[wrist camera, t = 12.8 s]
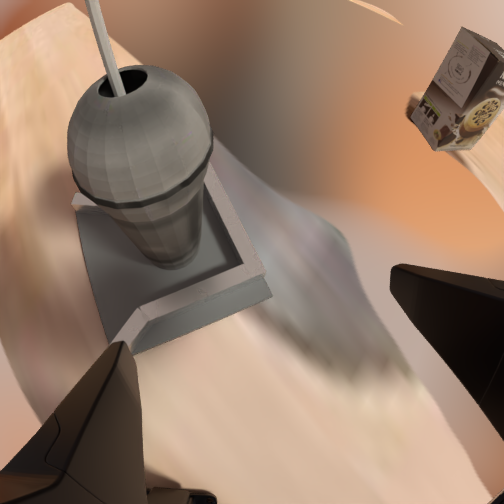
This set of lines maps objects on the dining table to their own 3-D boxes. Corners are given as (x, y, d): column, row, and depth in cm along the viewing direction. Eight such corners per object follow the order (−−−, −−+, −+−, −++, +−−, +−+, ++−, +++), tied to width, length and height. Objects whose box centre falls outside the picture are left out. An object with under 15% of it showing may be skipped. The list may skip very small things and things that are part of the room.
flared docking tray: (120, 364, 20) (111, 362, 19) (77, 206, 25) (69, 195, 24) (273, 300, 23) (277, 293, 22) (201, 157, 28) (200, 144, 26)
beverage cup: (171, 307, 22) (27, 58, 4) (112, 246, 24) (-15, 28, 5) (237, 241, 25) (264, -32, 6) (175, 190, 26) (137, -45, 8)
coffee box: (434, 153, 32) (499, 59, 17) (408, 117, 34) (459, 23, 20) (472, 151, 34) (531, 75, 19) (448, 118, 36) (497, 41, 21)
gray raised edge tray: (116, 361, 20) (115, 361, 20) (76, 209, 25) (74, 207, 25) (272, 296, 23) (272, 295, 23) (202, 159, 28) (202, 156, 28)
